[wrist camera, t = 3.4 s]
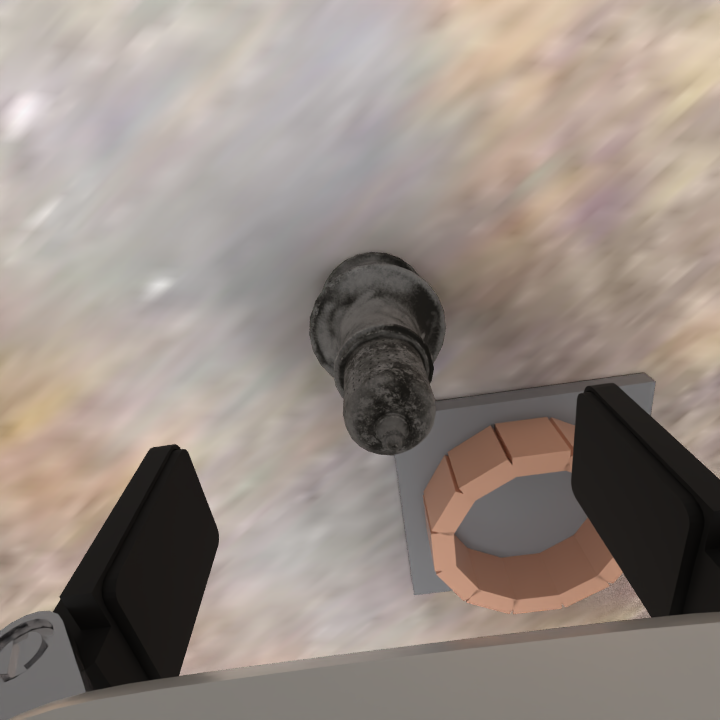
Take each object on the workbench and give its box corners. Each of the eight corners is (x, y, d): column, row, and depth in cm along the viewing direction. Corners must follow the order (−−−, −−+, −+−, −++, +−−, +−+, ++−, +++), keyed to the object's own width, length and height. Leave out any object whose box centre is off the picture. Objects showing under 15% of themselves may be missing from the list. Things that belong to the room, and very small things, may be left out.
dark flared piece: (295, 329, 24) (250, 488, 13) (347, 223, 21) (346, 308, 11) (395, 375, 25) (432, 556, 14) (454, 280, 23) (551, 407, 12)
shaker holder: (644, 372, 25) (694, 411, 21) (620, 557, 31) (656, 612, 27) (387, 407, 26) (394, 451, 22) (412, 582, 32) (420, 639, 28)
